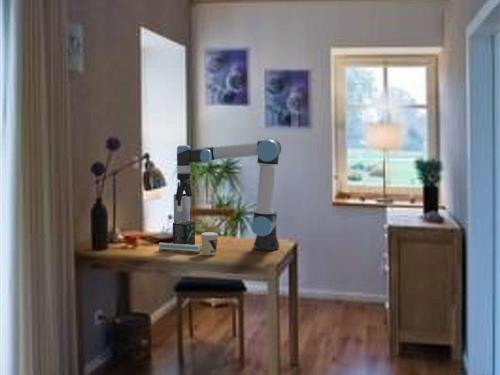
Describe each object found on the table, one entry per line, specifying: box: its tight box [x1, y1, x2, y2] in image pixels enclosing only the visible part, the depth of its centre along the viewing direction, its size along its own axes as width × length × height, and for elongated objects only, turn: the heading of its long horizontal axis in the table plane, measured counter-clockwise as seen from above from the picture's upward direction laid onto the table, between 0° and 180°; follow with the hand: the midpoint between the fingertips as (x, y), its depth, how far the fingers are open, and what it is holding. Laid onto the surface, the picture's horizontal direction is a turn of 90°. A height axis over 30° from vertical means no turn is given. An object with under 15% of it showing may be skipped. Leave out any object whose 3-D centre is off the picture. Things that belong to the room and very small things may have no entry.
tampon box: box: [172, 220, 196, 245], centre depth 383 cm, size 11×9×15 cm
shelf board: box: [158, 245, 202, 254], centre depth 382 cm, size 24×14×2 cm, turn 75°
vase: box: [173, 193, 191, 223], centre depth 415 cm, size 10×10×27 cm
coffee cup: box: [200, 231, 219, 256], centre depth 371 cm, size 9×9×12 cm
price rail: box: [158, 242, 200, 251], centre depth 376 cm, size 24×1×3 cm, turn 75°
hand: (184, 209), depth 381 cm, fingers open, 13 cm apart
